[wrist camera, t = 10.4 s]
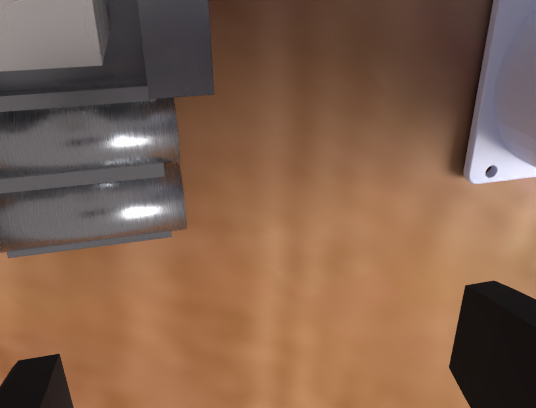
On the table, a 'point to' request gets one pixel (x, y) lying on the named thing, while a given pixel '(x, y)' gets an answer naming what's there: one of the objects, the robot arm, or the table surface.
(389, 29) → the table surface
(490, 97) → the robot arm
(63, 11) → the pale grey rectangular prism
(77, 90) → the chain end
